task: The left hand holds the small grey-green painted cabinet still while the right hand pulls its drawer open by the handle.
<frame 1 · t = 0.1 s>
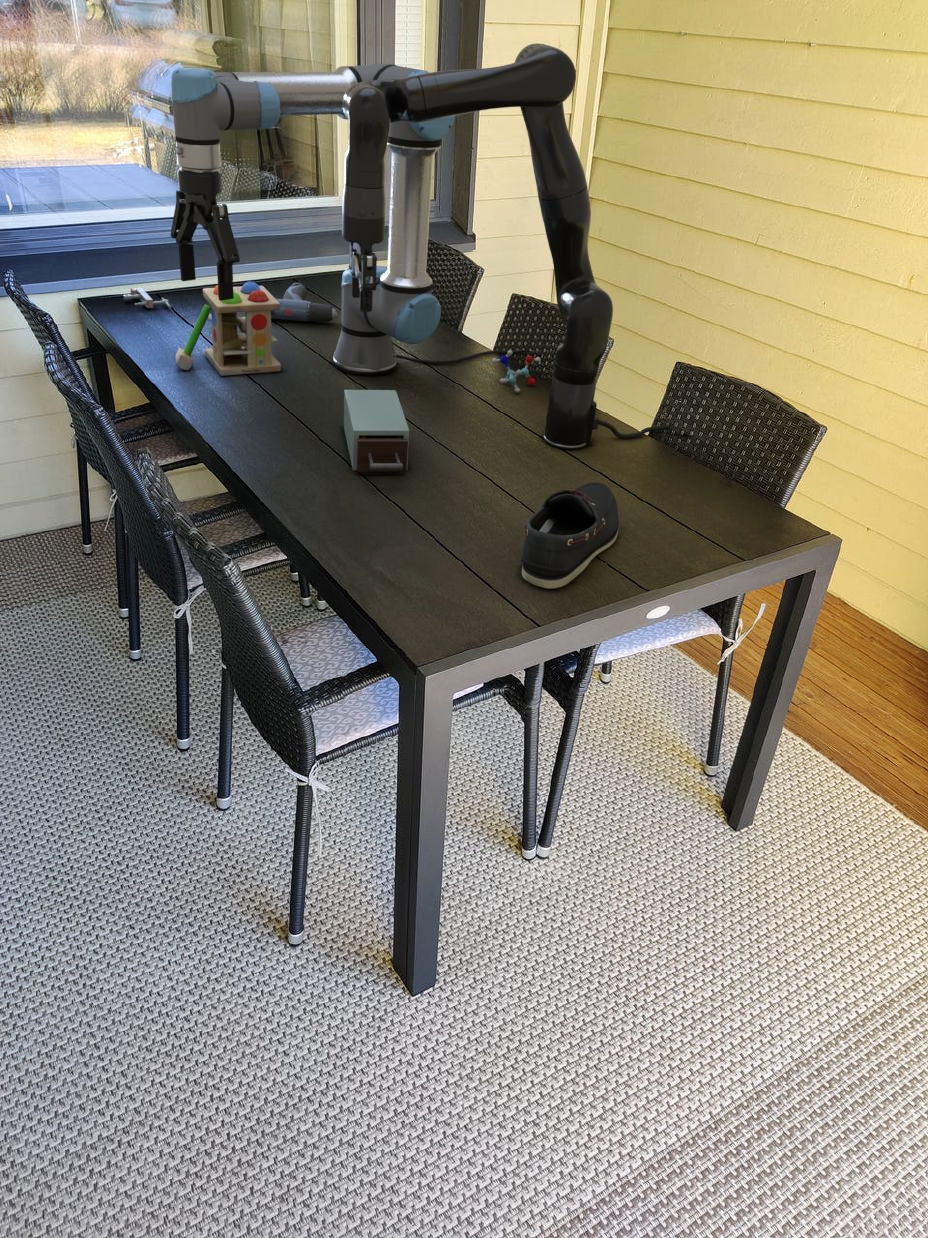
left hand: (206, 289, 186), 28 cm above the table, tool pointing down, fingers open, 13 cm apart
right hand: (361, 303, 182), 29 cm above the table, tool pointing down, fingers open, 8 cm apart
boat shoe: (569, 545, 173), on the table
molecular model: (512, 386, 235), on the table
cabinet: (374, 448, 200), on the table
drawer: (378, 442, 192), point 4 cm above the table, slide at 1.4 cm
power drill: (305, 313, 267), on the table
pounding bench toy: (225, 365, 230), on the table
clamp: (146, 304, 262), on the table
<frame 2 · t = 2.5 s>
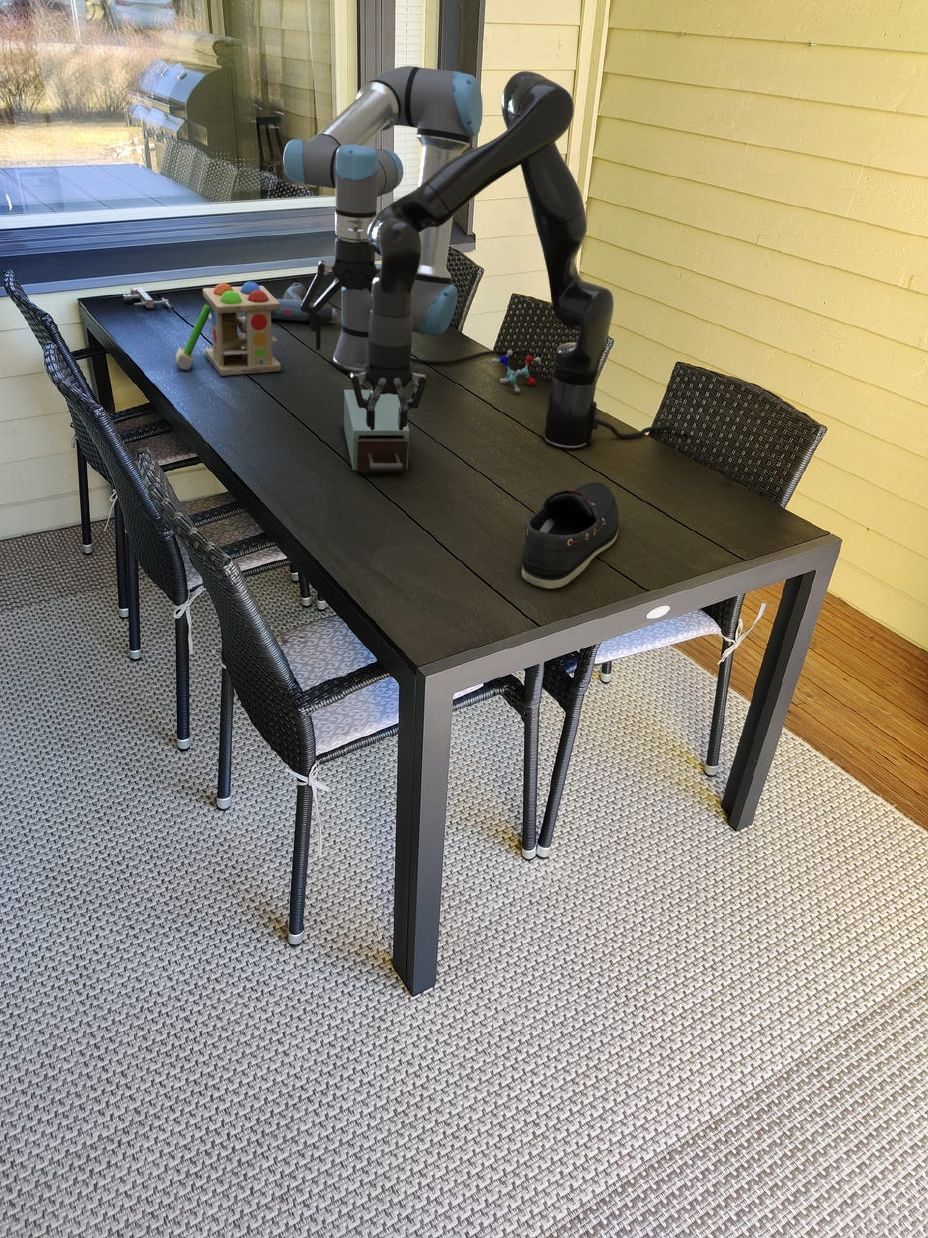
left hand: (353, 349, 194), 18 cm above the table, tool pointing down, fingers open, 13 cm apart
right hand: (386, 427, 180), 12 cm above the table, tool pointing down, fingers open, 4 cm apart
nothing on the table moved.
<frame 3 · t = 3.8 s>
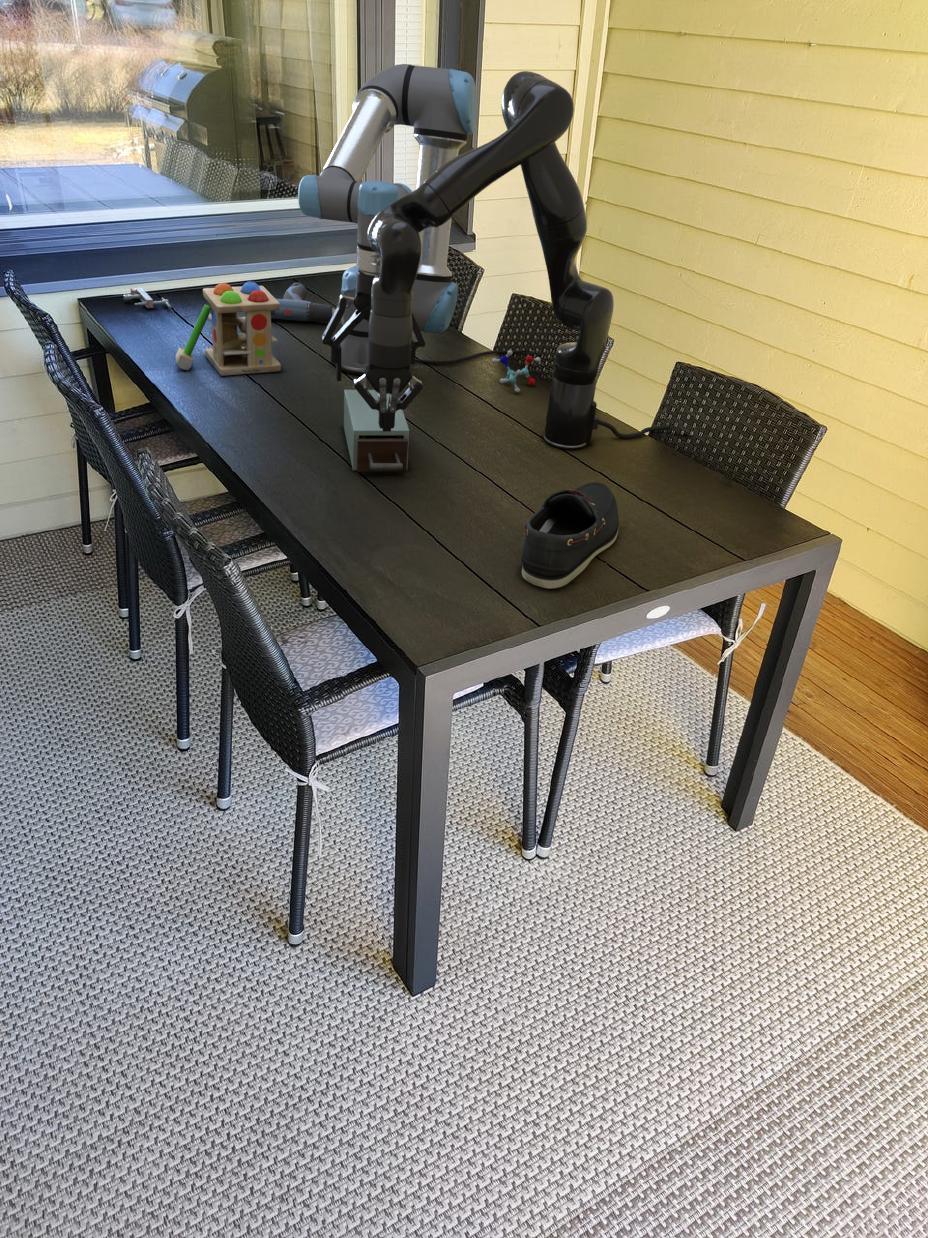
left hand: (372, 379, 198), 12 cm above the table, tool pointing down, fingers open, 13 cm apart
right hand: (386, 429, 180), 11 cm above the table, tool pointing down, fingers closed
nothing on the table moved.
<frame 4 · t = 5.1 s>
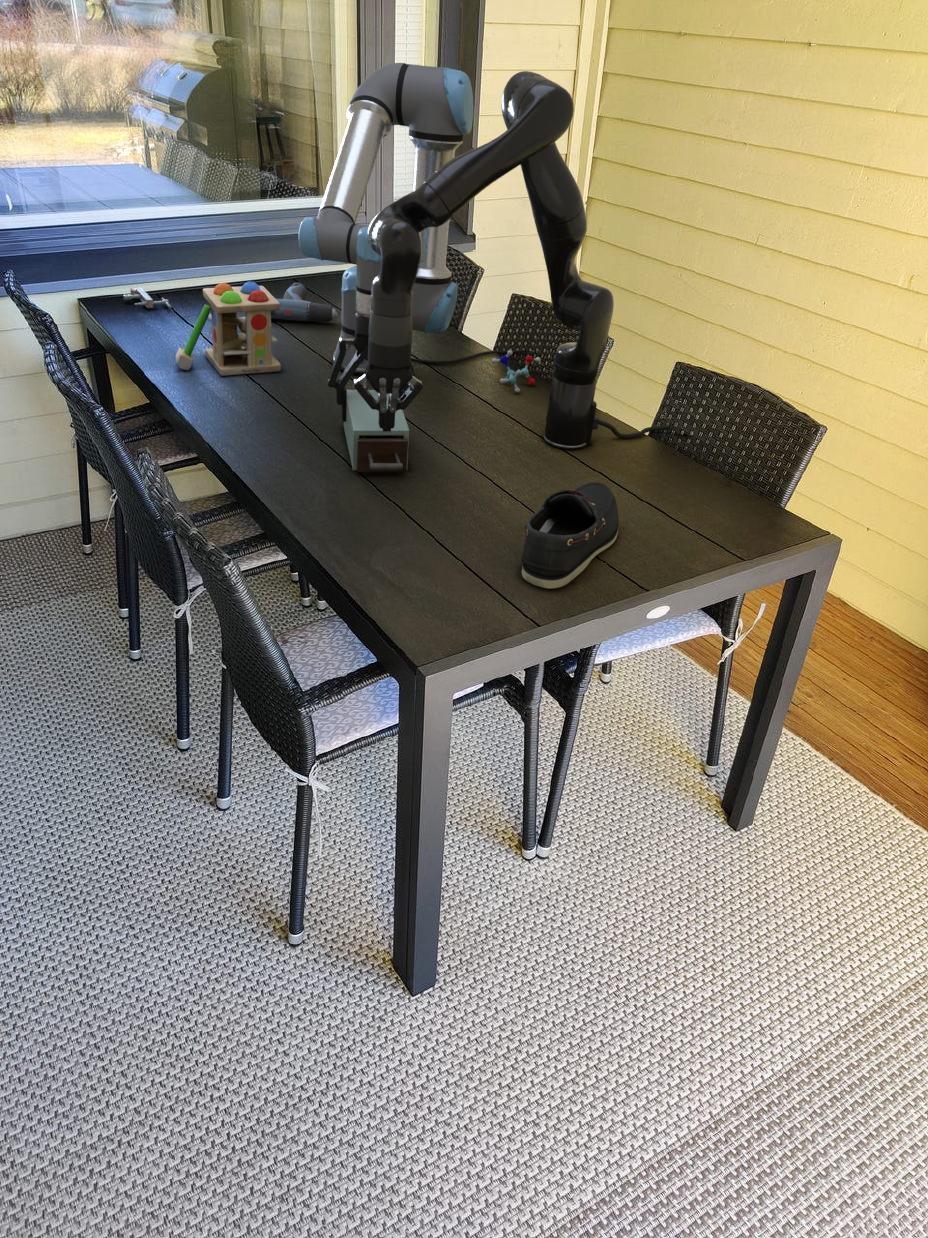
left hand: (371, 419, 203), 4 cm above the table, tool pointing down, fingers closed on cabinet, 11 cm apart
right hand: (386, 429, 180), 11 cm above the table, tool pointing down, fingers closed
cabinet: (374, 447, 200), on the table, touching left hand
everything else where it was.
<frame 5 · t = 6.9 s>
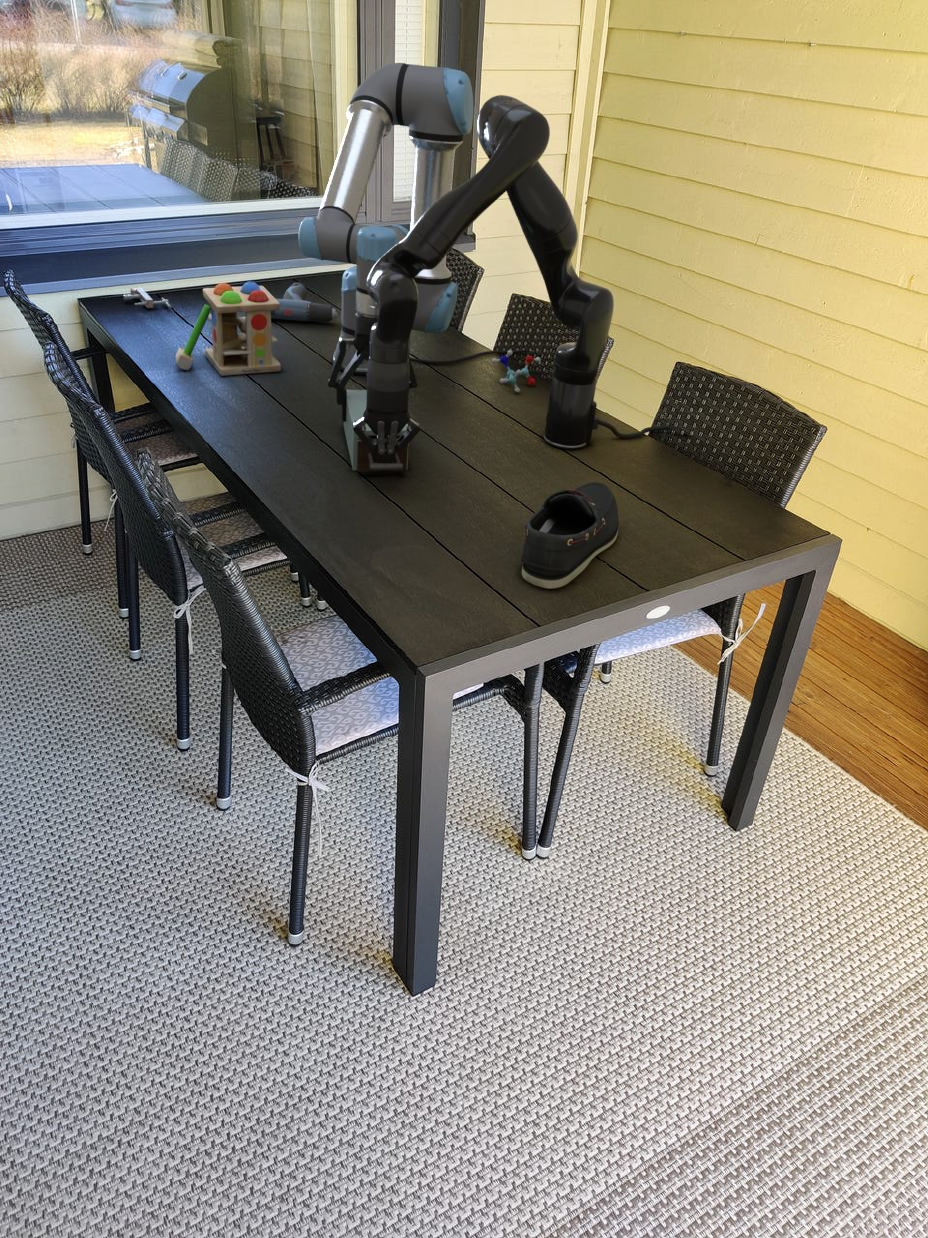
left hand: (371, 419, 203), 4 cm above the table, tool pointing down, fingers closed on cabinet, 11 cm apart
right hand: (384, 469, 184), 3 cm above the table, tool pointing down, fingers closed
cabinet: (374, 447, 200), on the table, touching left hand
drawer: (378, 442, 192), point 4 cm above the table, slide at 1.4 cm, touching right hand
everything else where it was.
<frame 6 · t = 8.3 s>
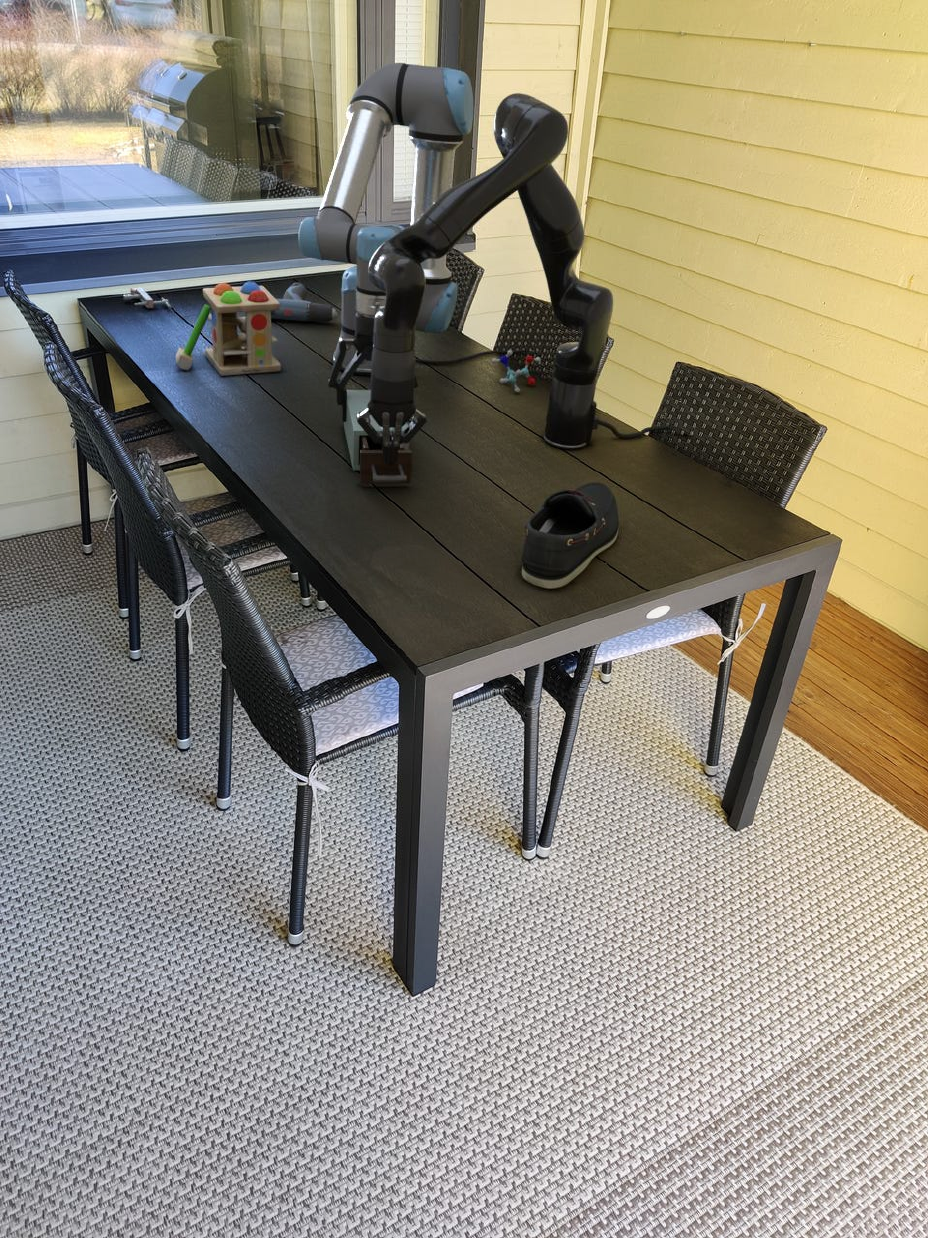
left hand: (371, 419, 203), 4 cm above the table, tool pointing down, fingers closed on cabinet, 11 cm apart
right hand: (389, 462, 178), 7 cm above the table, tool pointing down, fingers closed
cabinet: (374, 448, 199), on the table, touching left hand
drawer: (381, 453, 188), point 4 cm above the table, slide at 6.4 cm
everything else where it was.
when the left hand's fingers open (4 cm above the table, at t = 9.6 s): cabinet stays where it is, on the table.
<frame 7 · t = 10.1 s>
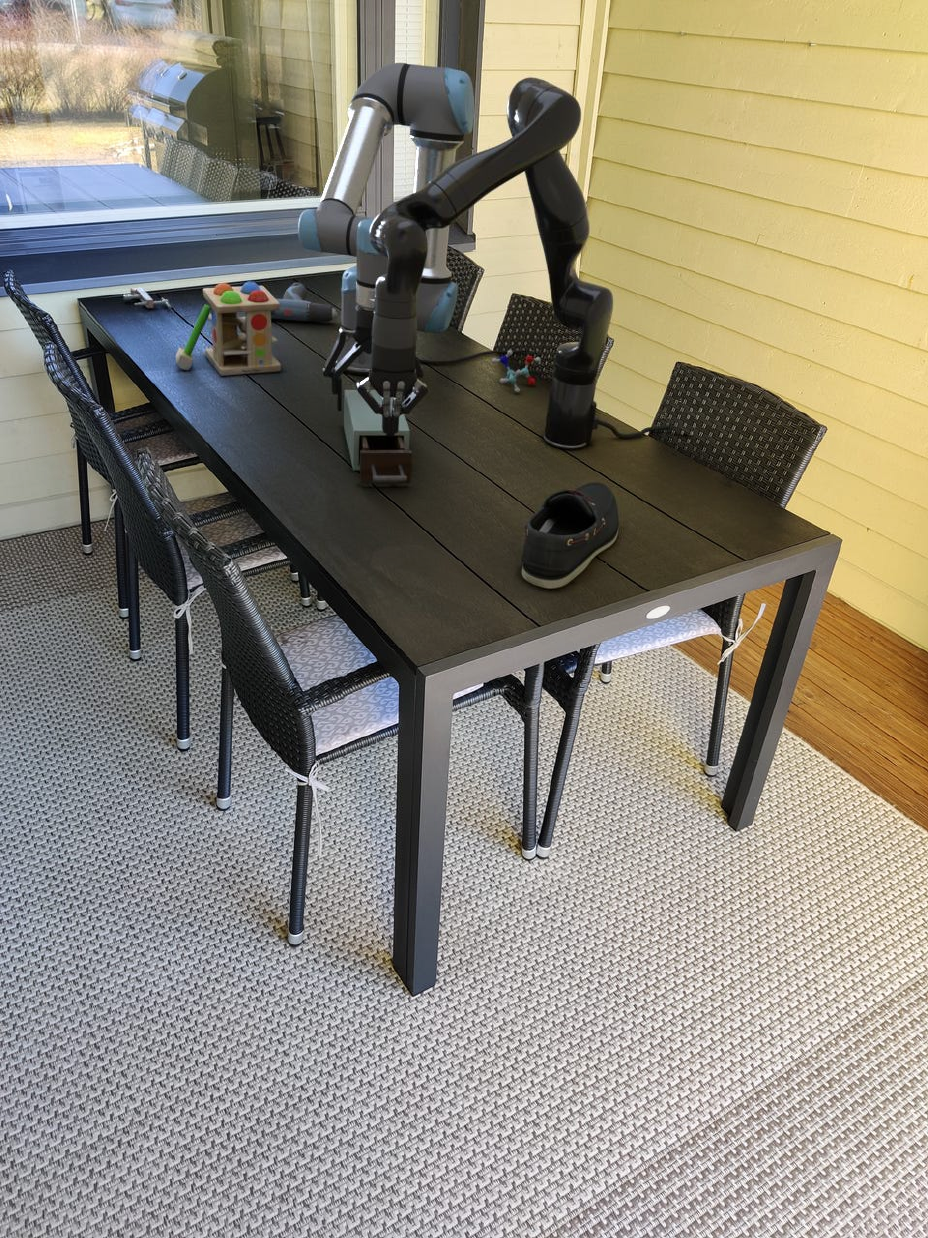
left hand: (372, 408, 202), 6 cm above the table, tool pointing down, fingers open, 13 cm apart
right hand: (390, 434, 175), 13 cm above the table, tool pointing down, fingers closed
cabinet: (374, 448, 199), on the table
everything else where it was.
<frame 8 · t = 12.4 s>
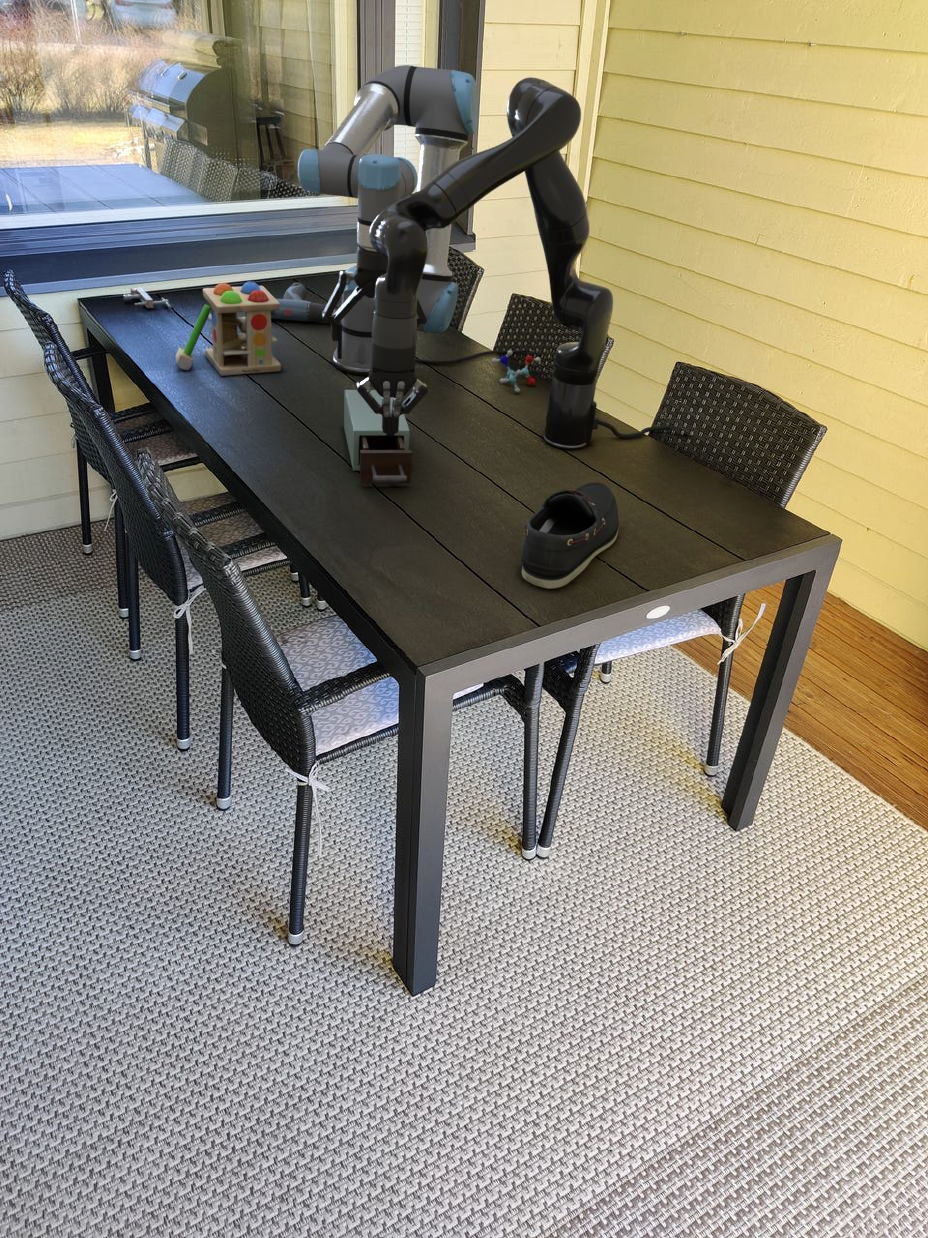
left hand: (373, 357, 195), 17 cm above the table, tool pointing down, fingers open, 13 cm apart
right hand: (390, 434, 175), 13 cm above the table, tool pointing down, fingers closed
nothing on the table moved.
at the end: drawer slide at 6.4 cm; cabinet tilted 0°; cabinet never tilted more than 1° during the clip; cabinet moved 0.1 cm from its start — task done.
